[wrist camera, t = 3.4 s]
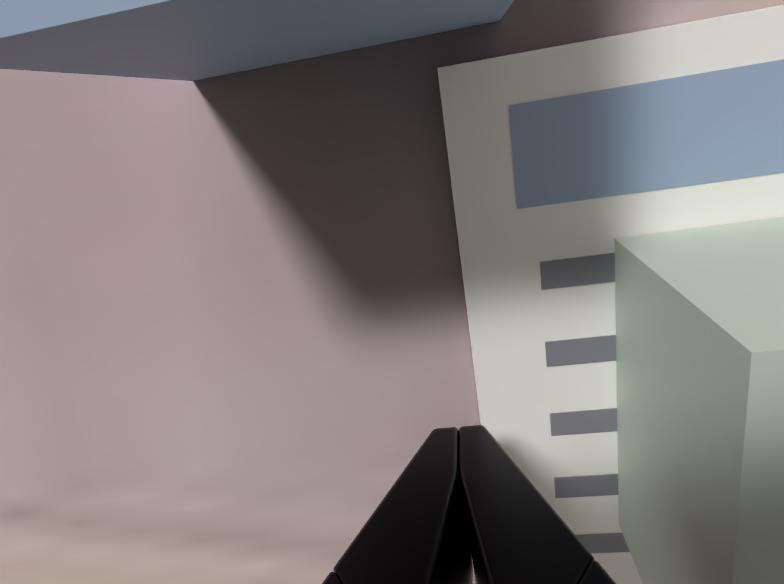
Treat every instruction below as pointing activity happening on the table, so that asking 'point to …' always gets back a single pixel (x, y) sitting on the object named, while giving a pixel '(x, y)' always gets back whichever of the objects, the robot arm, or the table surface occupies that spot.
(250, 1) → the slate-blue cube
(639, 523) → the sage block
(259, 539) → the table surface
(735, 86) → the letter
